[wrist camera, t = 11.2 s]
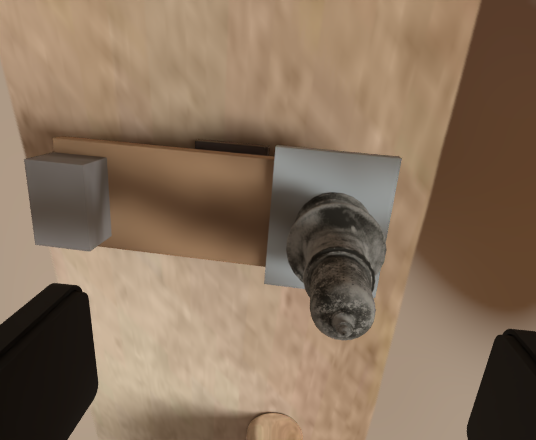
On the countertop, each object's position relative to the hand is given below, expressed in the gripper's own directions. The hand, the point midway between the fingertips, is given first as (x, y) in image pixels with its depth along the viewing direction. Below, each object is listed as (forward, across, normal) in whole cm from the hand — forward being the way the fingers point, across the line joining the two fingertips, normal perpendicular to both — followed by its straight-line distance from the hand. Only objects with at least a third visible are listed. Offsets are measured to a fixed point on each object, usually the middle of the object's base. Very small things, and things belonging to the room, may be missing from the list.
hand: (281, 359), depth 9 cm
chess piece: (+18, -3, +3) cm, 18 cm away
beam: (+20, +6, +3) cm, 21 cm away
